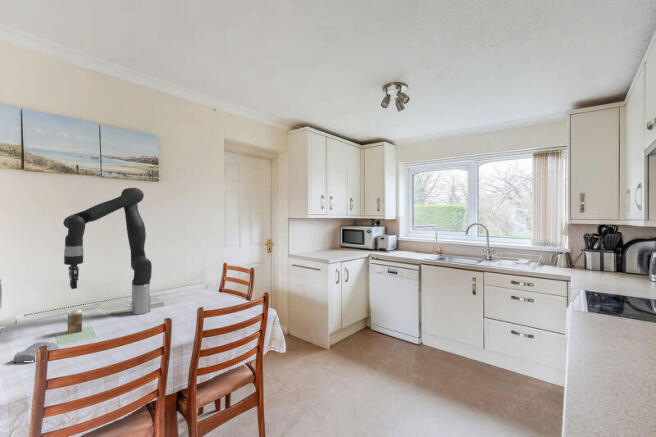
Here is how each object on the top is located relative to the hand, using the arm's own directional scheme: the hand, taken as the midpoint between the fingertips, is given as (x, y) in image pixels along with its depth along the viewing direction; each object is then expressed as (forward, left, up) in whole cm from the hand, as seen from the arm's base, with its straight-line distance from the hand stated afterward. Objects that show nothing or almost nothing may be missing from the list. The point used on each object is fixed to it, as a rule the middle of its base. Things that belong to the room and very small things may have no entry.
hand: (73, 287), depth 154 cm
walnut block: (0, +8, -21) cm, 22 cm away
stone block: (+13, +27, -22) cm, 38 cm away
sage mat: (0, +13, -21) cm, 25 cm away
